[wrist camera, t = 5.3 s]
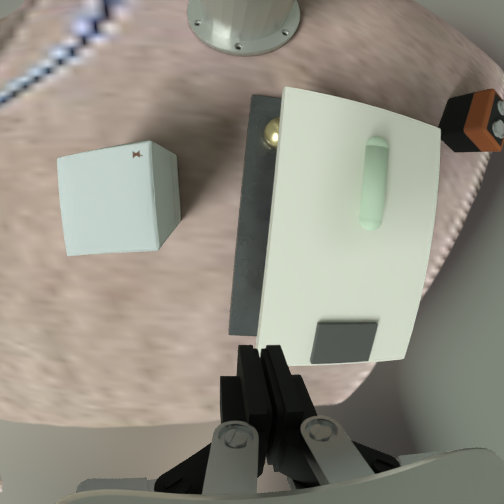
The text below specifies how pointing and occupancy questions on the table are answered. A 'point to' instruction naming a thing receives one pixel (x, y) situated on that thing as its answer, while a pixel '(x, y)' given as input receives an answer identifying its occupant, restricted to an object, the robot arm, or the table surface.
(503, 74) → the table surface
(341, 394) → the table surface
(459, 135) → the battery
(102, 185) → the supplement box
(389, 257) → the level plate
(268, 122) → the tribrach base
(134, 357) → the table surface
